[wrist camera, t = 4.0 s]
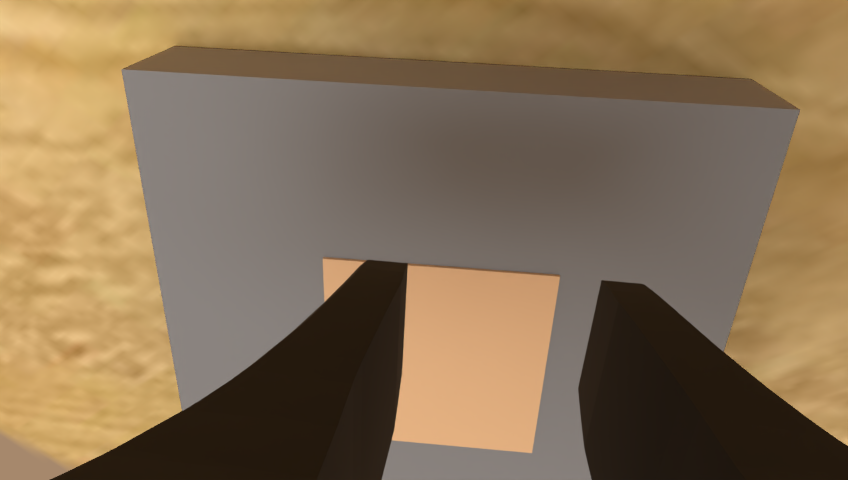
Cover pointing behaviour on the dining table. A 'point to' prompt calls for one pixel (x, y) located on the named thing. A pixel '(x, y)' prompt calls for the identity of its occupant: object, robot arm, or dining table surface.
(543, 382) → the grey flat square slab
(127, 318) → the dining table surface
